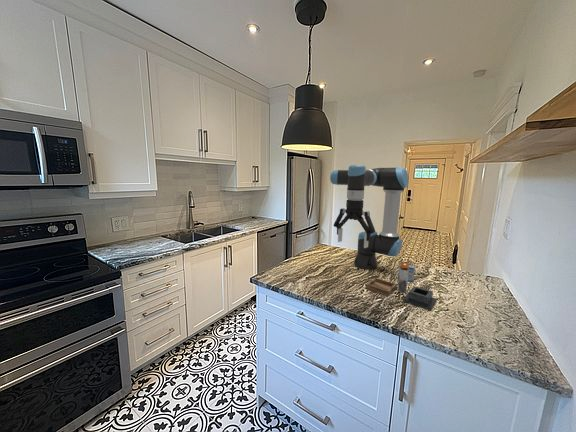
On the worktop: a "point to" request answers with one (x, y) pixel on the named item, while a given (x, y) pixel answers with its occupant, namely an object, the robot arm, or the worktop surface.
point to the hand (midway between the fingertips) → (352, 244)
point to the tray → (381, 286)
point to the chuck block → (420, 298)
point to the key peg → (403, 276)
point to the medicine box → (409, 273)
